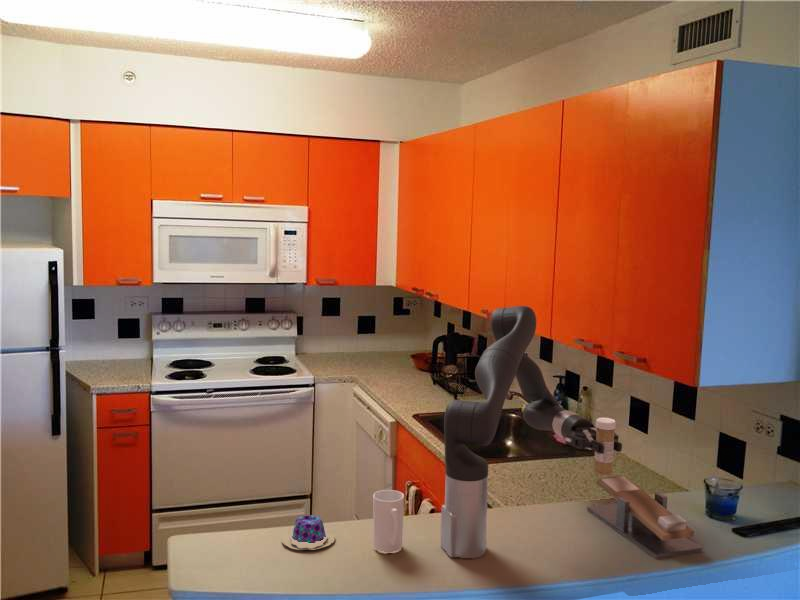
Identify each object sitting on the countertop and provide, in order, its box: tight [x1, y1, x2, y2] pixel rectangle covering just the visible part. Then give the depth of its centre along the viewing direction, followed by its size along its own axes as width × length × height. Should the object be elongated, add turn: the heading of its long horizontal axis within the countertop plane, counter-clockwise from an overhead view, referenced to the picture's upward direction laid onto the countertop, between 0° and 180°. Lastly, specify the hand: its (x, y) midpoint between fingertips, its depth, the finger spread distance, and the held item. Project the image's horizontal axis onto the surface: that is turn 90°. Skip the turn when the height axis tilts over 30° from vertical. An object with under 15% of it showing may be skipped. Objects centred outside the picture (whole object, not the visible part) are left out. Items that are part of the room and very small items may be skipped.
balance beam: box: [596, 475, 695, 540], centre depth 169 cm, size 8×26×3 cm, turn 18°
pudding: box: [292, 514, 326, 543], centre depth 161 cm, size 12×12×5 cm
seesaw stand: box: [586, 492, 703, 560], centre depth 169 cm, size 12×27×8 cm, turn 18°
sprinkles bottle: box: [593, 417, 617, 476], centre depth 176 cm, size 5×5×13 cm
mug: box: [372, 489, 405, 552], centre depth 156 cm, size 10×7×12 cm, turn 16°
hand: (611, 448), depth 173 cm, fingers closed on sprinkles bottle, 4 cm apart
